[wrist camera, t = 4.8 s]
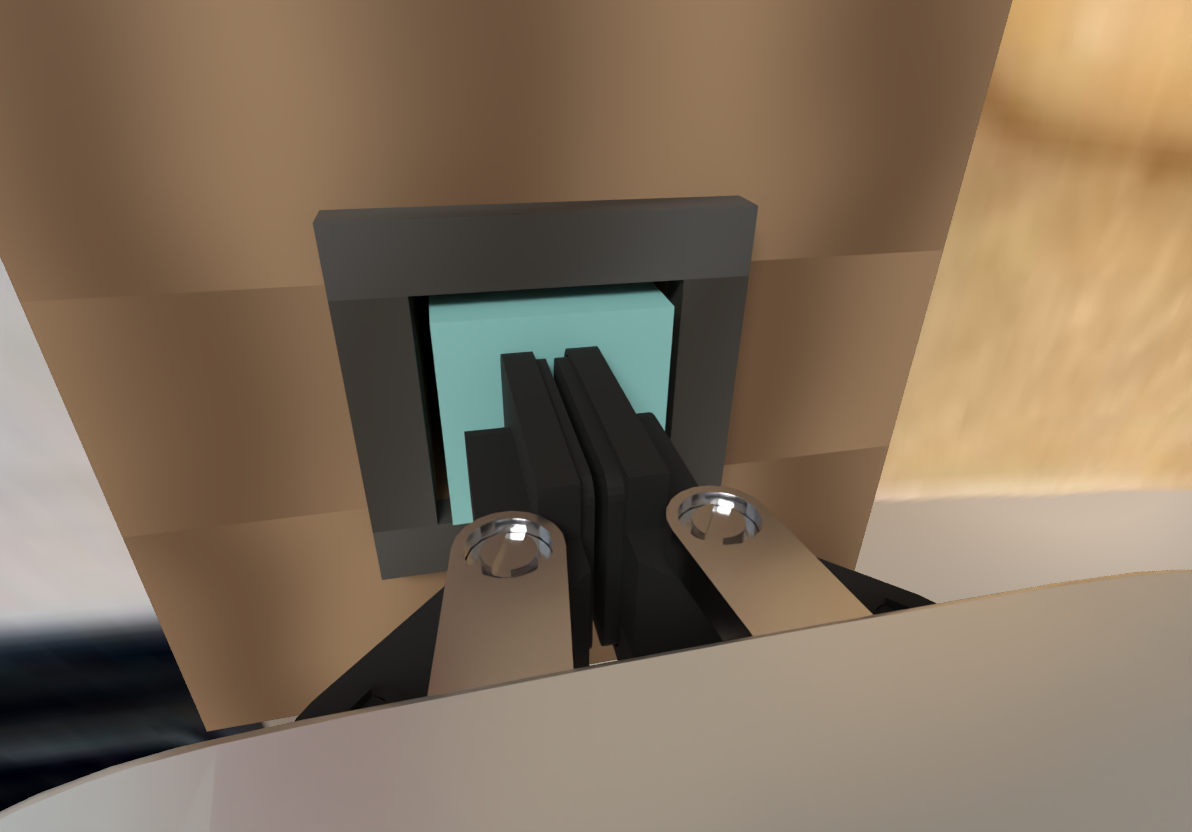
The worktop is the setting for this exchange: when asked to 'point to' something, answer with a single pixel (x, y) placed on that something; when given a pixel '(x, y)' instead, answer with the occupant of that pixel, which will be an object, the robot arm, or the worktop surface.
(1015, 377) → the worktop surface
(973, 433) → the worktop surface
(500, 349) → the peg
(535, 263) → the socket block
